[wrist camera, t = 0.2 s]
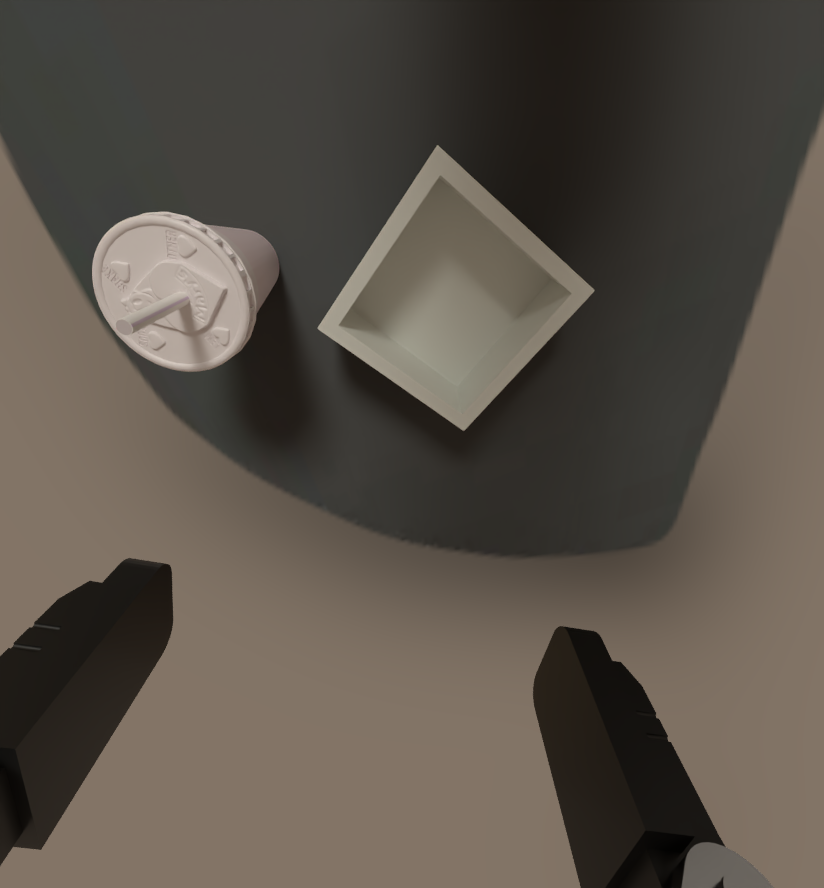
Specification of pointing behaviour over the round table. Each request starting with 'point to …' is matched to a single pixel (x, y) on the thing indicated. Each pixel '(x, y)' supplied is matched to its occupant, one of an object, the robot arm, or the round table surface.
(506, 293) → the box
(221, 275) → the smoothie
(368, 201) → the round table surface
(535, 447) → the round table surface
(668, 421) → the round table surface
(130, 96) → the round table surface
